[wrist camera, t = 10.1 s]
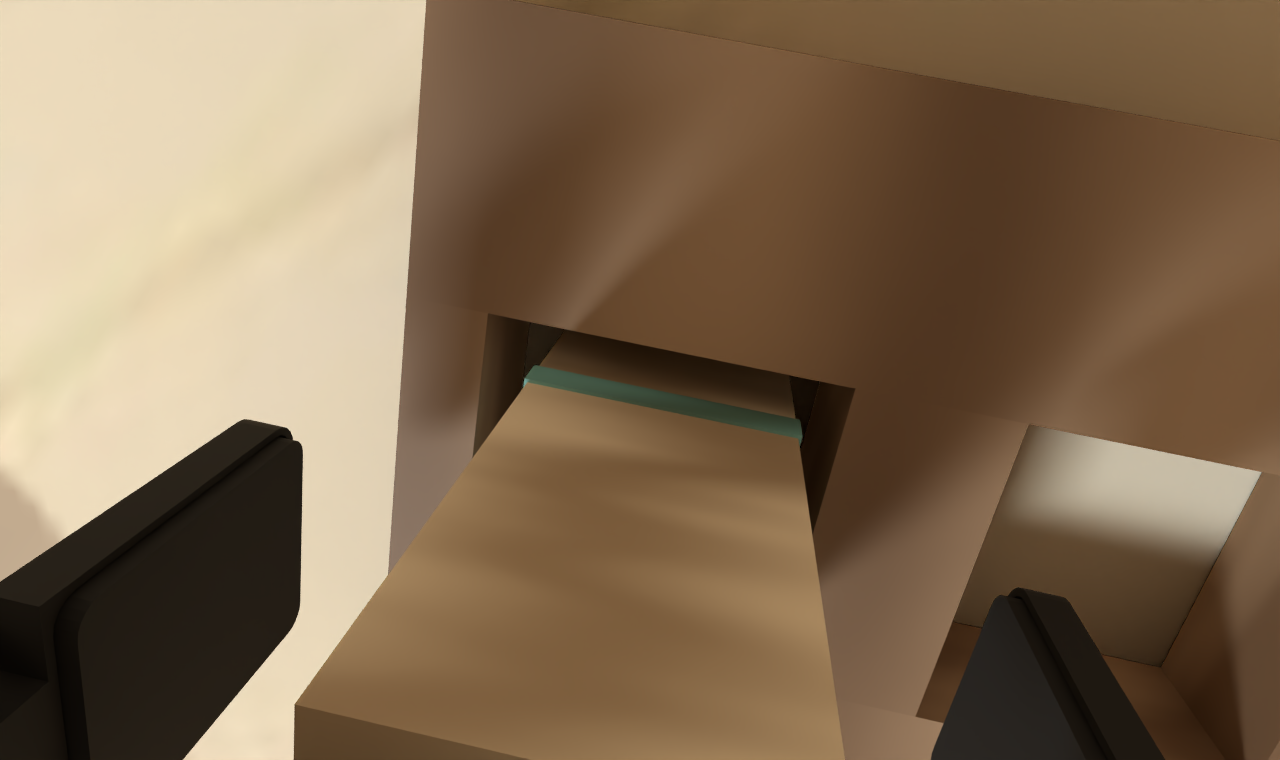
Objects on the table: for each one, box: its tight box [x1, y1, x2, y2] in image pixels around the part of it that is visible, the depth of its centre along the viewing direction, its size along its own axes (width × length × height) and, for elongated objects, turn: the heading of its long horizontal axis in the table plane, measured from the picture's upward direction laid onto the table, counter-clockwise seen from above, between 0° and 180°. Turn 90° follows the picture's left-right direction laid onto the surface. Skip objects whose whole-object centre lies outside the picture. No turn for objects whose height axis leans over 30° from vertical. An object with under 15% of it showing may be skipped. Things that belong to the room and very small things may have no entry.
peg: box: [294, 329, 845, 760], centre depth 11 cm, size 4×4×10 cm
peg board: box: [388, 0, 1280, 760], centre depth 14 cm, size 16×14×3 cm
